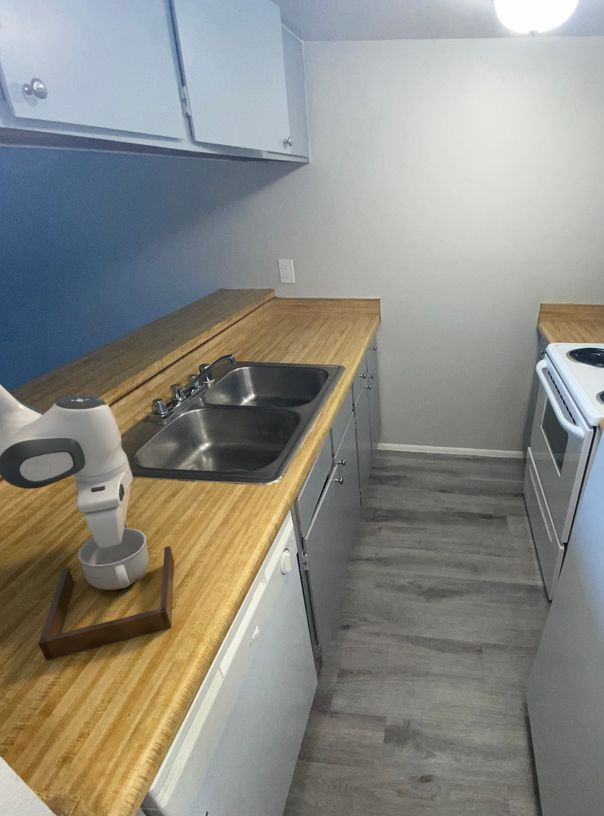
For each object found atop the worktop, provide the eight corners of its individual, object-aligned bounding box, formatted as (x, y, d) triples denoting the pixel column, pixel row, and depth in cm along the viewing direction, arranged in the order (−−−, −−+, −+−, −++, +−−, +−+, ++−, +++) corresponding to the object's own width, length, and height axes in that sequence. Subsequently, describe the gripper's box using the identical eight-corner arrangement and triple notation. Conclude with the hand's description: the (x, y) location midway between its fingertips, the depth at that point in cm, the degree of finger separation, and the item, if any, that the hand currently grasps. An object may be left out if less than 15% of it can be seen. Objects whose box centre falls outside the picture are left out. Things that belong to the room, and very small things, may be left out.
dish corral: (46, 660, 74) (38, 643, 73) (68, 583, 88) (62, 568, 86) (171, 627, 81) (166, 611, 79) (174, 561, 95) (170, 545, 93)
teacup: (91, 566, 92) (80, 534, 89) (153, 550, 97) (144, 520, 93) (85, 619, 81) (72, 586, 78) (155, 599, 86) (145, 566, 82)
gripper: (93, 452, 96) (111, 507, 102) (74, 512, 79) (97, 572, 85) (128, 447, 98) (144, 501, 104) (117, 504, 81) (136, 564, 88)
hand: (122, 534), depth 95 cm, fingers closed
